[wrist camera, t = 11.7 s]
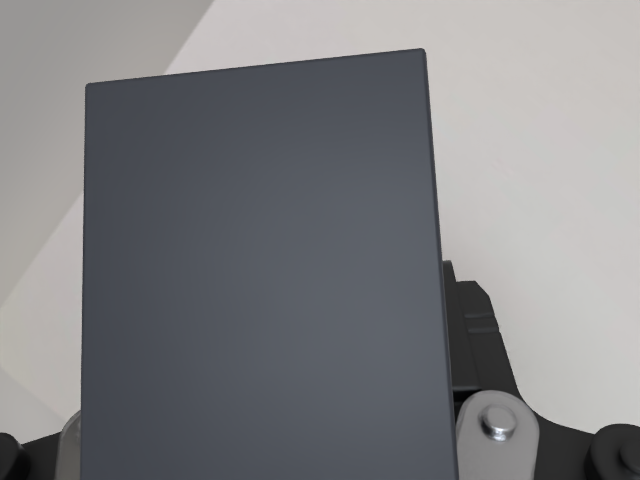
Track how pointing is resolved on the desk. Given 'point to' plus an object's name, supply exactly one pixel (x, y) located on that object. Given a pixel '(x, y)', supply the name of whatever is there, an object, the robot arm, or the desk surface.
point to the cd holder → (265, 276)
